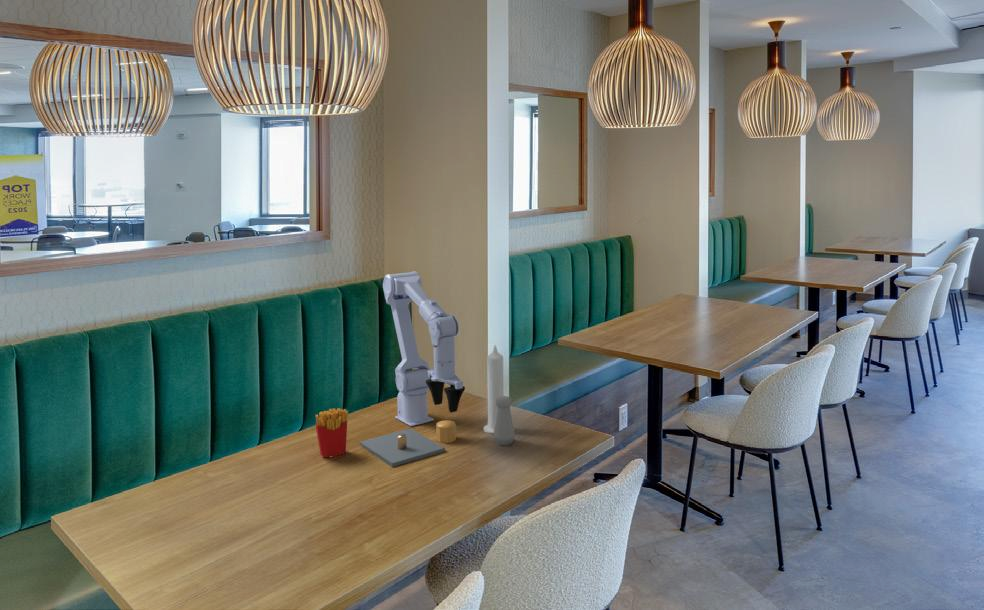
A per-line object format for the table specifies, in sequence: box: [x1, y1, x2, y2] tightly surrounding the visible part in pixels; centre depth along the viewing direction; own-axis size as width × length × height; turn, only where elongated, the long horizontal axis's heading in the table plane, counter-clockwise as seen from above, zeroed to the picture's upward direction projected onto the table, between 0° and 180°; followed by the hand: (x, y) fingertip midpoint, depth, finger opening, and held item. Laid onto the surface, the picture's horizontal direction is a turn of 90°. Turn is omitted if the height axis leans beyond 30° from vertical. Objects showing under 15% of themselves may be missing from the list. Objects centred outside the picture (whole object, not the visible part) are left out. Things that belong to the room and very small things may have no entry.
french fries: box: [314, 407, 349, 458], centre depth 195 cm, size 8×4×12 cm, turn 118°
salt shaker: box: [493, 395, 516, 446], centre depth 201 cm, size 6×6×13 cm
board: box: [358, 428, 446, 468], centre depth 200 cm, size 18×16×1 cm
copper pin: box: [397, 434, 407, 450], centre depth 197 cm, size 2×2×4 cm
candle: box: [483, 344, 505, 435], centre depth 210 cm, size 7×7×25 cm
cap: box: [435, 420, 457, 444], centre depth 205 cm, size 5×5×4 cm
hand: (445, 407), depth 204 cm, fingers open, 7 cm apart
